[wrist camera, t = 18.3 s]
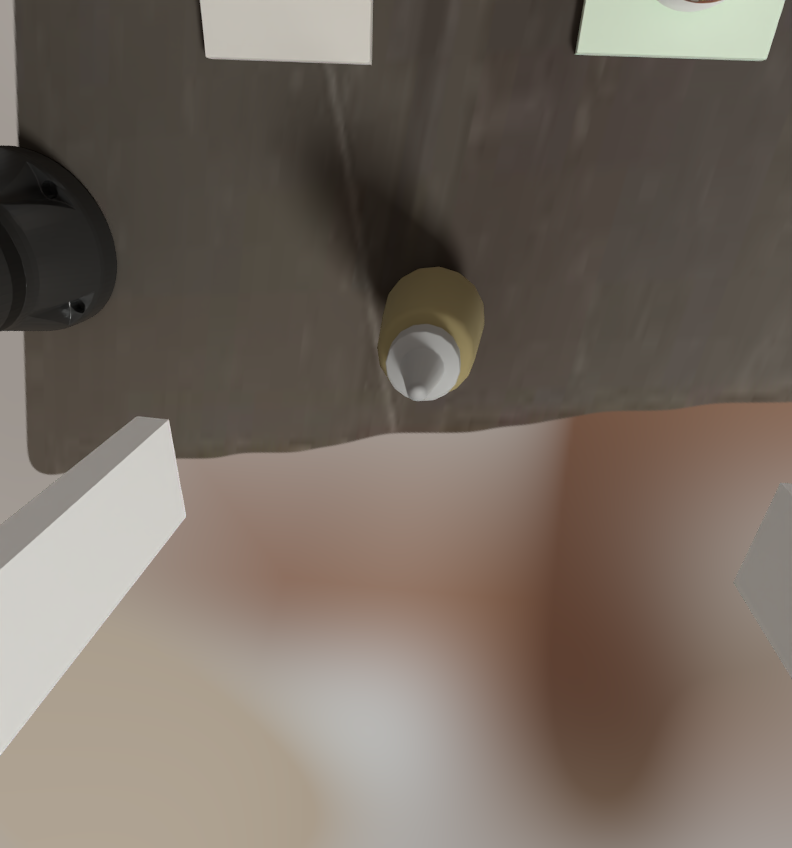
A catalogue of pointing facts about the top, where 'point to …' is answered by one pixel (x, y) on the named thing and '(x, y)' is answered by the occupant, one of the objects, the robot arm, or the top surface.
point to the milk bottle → (689, 4)
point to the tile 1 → (289, 30)
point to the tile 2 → (678, 30)
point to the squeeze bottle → (430, 332)
